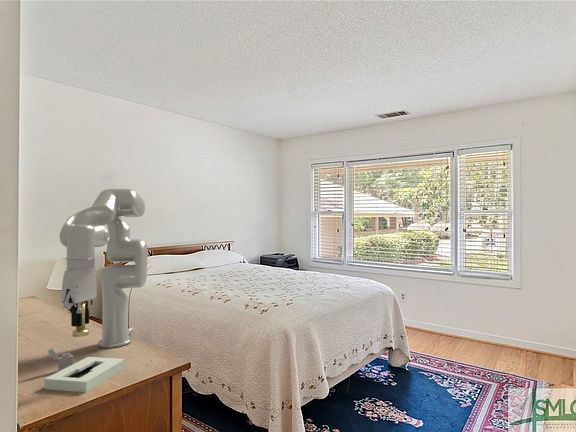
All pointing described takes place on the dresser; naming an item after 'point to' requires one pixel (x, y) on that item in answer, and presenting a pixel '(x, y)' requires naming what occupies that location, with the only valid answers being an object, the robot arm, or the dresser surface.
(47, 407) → the dresser surface
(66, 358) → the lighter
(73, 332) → the peg
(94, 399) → the dresser surface
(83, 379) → the board
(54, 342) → the dresser surface
